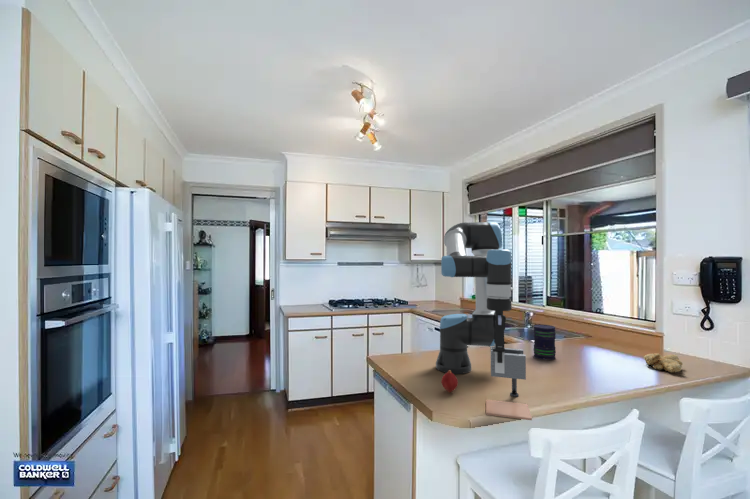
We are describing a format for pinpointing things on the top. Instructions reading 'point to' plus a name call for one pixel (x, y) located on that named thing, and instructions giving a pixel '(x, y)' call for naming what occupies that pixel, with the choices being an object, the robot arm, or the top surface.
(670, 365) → the ginger root
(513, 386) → the post stand
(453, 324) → the robot arm
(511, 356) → the c link
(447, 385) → the onion
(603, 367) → the top surface
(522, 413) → the tile
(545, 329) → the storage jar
